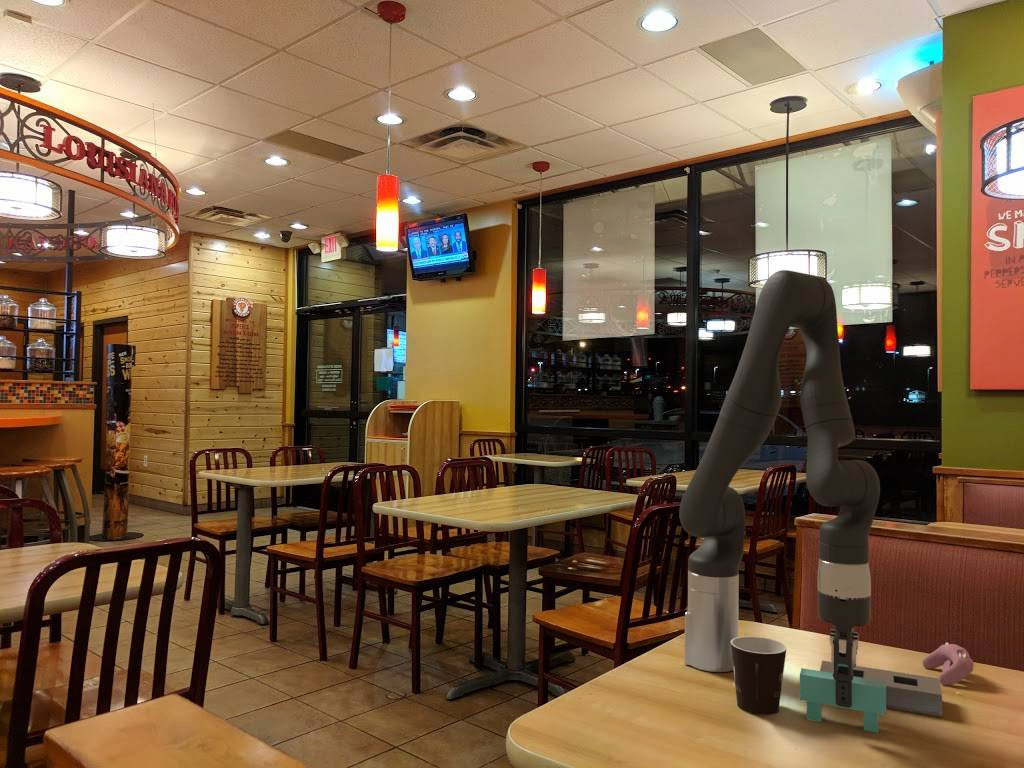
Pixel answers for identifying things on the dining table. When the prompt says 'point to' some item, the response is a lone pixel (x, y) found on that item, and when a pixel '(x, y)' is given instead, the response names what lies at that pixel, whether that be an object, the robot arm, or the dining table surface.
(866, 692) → the two prong clip
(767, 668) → the coffee mug
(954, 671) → the video game controller
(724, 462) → the robot arm
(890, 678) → the slotted rail
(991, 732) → the dining table surface
